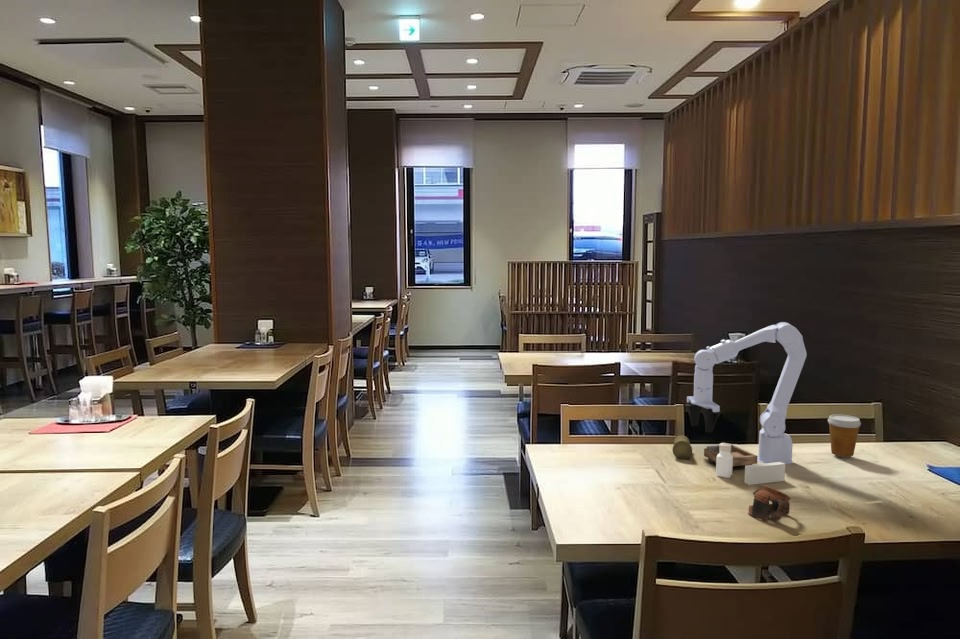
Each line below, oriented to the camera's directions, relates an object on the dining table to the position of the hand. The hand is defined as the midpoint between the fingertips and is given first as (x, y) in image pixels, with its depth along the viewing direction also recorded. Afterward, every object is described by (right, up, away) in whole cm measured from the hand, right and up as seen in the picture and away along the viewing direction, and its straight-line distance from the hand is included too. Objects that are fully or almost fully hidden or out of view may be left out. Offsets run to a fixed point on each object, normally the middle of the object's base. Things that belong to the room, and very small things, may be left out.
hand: (701, 428), depth 212 cm
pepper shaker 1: (-8, -6, -4) cm, 11 cm away
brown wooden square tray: (+6, -10, -9) cm, 14 cm away
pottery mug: (-1, -15, -50) cm, 52 cm away
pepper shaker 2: (0, -11, -19) cm, 22 cm away
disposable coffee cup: (+46, -9, +2) cm, 47 cm away
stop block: (+10, -11, -24) cm, 28 cm away
